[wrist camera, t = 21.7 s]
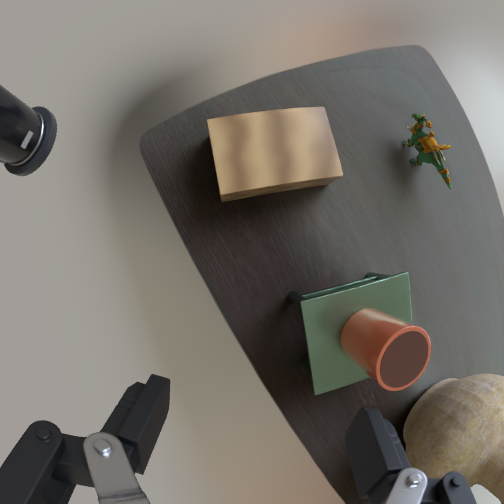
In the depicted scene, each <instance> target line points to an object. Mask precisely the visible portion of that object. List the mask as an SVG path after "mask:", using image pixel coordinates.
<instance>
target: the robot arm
mask: <svg viewBox="0 0 504 504" xmlns="http://www.w3.org/2000/svg"><path fill="white" fill-rule="evenodd" d="M45 132H46V122H45V119H44V117H43V116H42V115H41V114H40V113H38V112H36V111H34V110H33V109H32V108H30V107H29V106H28V105H26V104H25V103H24V102H22V101H21V100H20V99H18V98H17V97H16V96H14V95H13V94H12V93H10V92H9V91H8V90H6V89H5V88H3V87H2V86H1V85H0V162H1V163H4V164H6V165H8V164H11V165H13V166H22V165H25V164H26V163H28V162H29V161H30V160H31V159H32V158H33V157H34V156H35V155H36V153H37V152H38V150H39V149H40V147H41V145H42V143H43V140H44V137H45ZM169 400H170V379H168V378H165V377H161V376H158V375H154V374H152V375H151V376H150V378H149V380H148V381H147V383H146V384H143V383H139V382H136V383H135V384H133V385H132V386H130V387H128V388H127V390H126V392H125V393H124V395H123V396H122V398H121V400H120V401H119V403H118V405H117V406H116V407H115V409H114V411H113V412H112V414H111V415H110V417H109V418H108V420H107V422H106V423H105V425H104V427H103V428H102V429H101V431H100V432H97V433H93V434H91V435H89V436H88V437H78V436H72V435H67V434H63V433H61V431H60V429H59V428H58V427H57V426H56V425H55V424H53V423H51V422H49V421H44V420H43V421H37V422H34V423H32V424H31V425H30V426H29V427H28V429H27V430H26V431H25V433H24V434H23V435H22V437H21V438H20V440H19V441H18V443H17V444H16V445H15V447H14V448H13V450H12V452H11V453H10V454H9V456H8V457H7V458H6V460H5V461H4V463H3V464H2V466H1V468H0V504H68V502H69V500H70V497H71V495H72V493H73V491H74V488H75V486H76V484H78V485H83V486H88V487H95V489H96V492H97V495H98V501H99V504H150V502H149V500H148V498H147V497H146V495H145V493H144V492H143V491H142V490H141V488H140V486H139V483H138V481H137V479H136V477H135V475H134V474H135V472H136V473H139V474H142V475H143V474H144V471H145V469H146V466H147V464H148V461H149V458H150V456H151V454H152V451H153V449H154V446H155V444H156V441H157V439H158V436H159V434H160V432H161V429H162V426H163V424H164V421H165V419H166V417H167V414H168V410H169ZM345 442H346V447H347V450H348V454H349V458H350V462H351V467H352V471H353V475H354V479H355V483H356V487H357V492H358V496H359V499H367V498H369V500H370V503H369V504H477V503H476V501H475V498H474V496H473V493H472V491H471V489H470V486H469V484H468V482H467V480H466V478H465V476H464V475H463V474H461V473H459V472H456V471H451V472H448V473H447V474H446V475H445V476H444V477H443V478H442V479H436V478H426V476H425V474H424V473H423V472H422V471H421V470H419V469H416V468H412V467H411V465H410V463H409V460H408V458H407V456H406V453H405V451H404V449H403V446H402V444H401V443H400V439H399V437H397V433H396V430H395V428H394V426H393V425H392V424H391V423H390V422H389V421H388V420H387V419H383V417H382V414H381V412H380V410H379V409H378V408H361V409H360V410H359V412H358V413H357V415H356V417H355V419H354V420H353V422H352V424H351V425H350V427H349V429H348V430H347V433H346V438H345Z"/></svg>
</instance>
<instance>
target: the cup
mask: <svg viewBox="0 0 504 504" xmlns="http://www.w3.org/2000/svg"><path fill="white" fill-rule="evenodd" d="M341 347H342V350H343V352H344V354H345V355H346V356H347V357H348V358H349V359H351V360H352V361H353V362H354V363H355V364H356V365H357V366H359V367H360V368H361V369H362V370H363V371H364V372H365V373H366V374H368V375H369V376H370V377H371V378H372V379H373V380H374V381H376V382H377V383H378V384H379V385H380V386H381V387H382V388H384V389H386V390H389V391H399V390H402V389H405V388H407V387H408V386H410V385H411V384H413V383H414V382H415V381H416V380H417V379H418V378H419V377H420V376H421V374H422V373H423V372H424V370H425V368H426V366H427V364H428V361H429V358H430V354H431V342H430V338H429V336H428V334H427V333H426V331H425V330H424V329H422V328H420V327H418V326H416V325H413V324H411V323H408V322H406V321H403V320H401V319H398V318H396V317H394V316H391V315H389V314H386V313H384V312H381V311H379V310H376V309H372V308H368V309H363V310H360V311H358V312H356V313H355V314H354V315H352V316H351V317H350V318H349V319H348V321H347V322H346V324H345V325H344V327H343V330H342V333H341Z"/></svg>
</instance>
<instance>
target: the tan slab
mask: <svg viewBox="0 0 504 504" xmlns="http://www.w3.org/2000/svg"><path fill="white" fill-rule="evenodd" d="M207 123H208V131H209V137H210V143H211V146H212V152H213V158H214V163H215V169H216V174H217V179H218V185H219V191H220V198H221V202H226V201H231V200H237V199H242V198H248V197H253V196H259V195H265V194H270V193H276V192H282V191H289V190H295V189H301V188H308V187H315V186H321V185H328V184H330V183H332V182H333V181H335V180H337V179H339V178H340V177H342V176H343V172H342V168H341V164H340V160H339V156H338V153H337V149H336V145H335V142H334V138H333V135H332V131H331V128H330V124H329V121H328V118H327V114H326V111H325V108H324V106H323V107H305V108H291V109H280V110H270V111H261V112H253V113H245V114H238V115H232V116H225V117H219V118H213V119H208V120H207Z"/></svg>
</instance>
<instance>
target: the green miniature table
mask: <svg viewBox="0 0 504 504" xmlns="http://www.w3.org/2000/svg"><path fill="white" fill-rule="evenodd" d="M289 299H290V300H292V301H293V302H294V303H295V304H297V305H298V306H299V307H300V311H301V317H302V323H303V329H304V335H305V342H306V348H307V354H308V357H307V356H302V357H301V358H300V362H301V364H302V366H303V367H304V369H305V370H306V372H307V373H308V375H309V376H310V378H311V381H312V388H313V393H314V395H318V394H322V393H325V392H328V391H331V390H334V389H338V388H341V387H344V386H347V385H350V384H352V383H355V382H358V381H361V380H364V379H366V378H369V377H370V376H369V375H368V374H366V373H365V372H364V371H363V370H362V369H361V368H360V367H359V366H357V365H356V364H355V363H354V362H353V361H352V360H351V359H349V358H348V357H347V356H346V355H345V354H344V352H343V350H342V347H341V333H342V330H343V327H344V325H345V324H346V322H347V321H348V319H349V318H350V317H351V316H352V315H354V314H355V313H356V312H358V311H360V310H363V309H368V308H372V309H376V310H379V311H381V312H384V313H386V314H389V315H391V316H394V317H396V318H398V319H401V320H403V321H406V322H408V323H411V324H412V314H411V299H410V288H409V278H408V272H402V273H399V274H395V275H392V276H390V275H384V274H379V273H373V272H369V273H368V274H367V276H366V278H365V279H361V280H357V281H353V282H350V283H346V284H342V285H338V286H334V287H330V288H326V289H322V290H318V291H314V292H310V293H306V294H301V295H300V294H299V293H297V292H295V291H292V292H290V294H289Z"/></svg>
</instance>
